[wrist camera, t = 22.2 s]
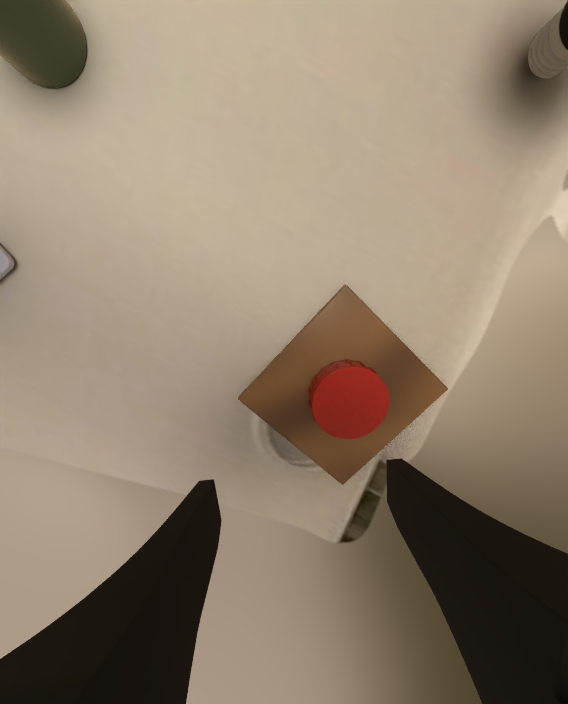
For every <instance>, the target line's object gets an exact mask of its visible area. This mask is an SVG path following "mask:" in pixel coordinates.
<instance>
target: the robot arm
mask: <svg viewBox="0 0 568 704" xmlns="http://www.w3.org/2000/svg"><path fill="white" fill-rule="evenodd" d="M13 267H14V260H13V259H12V257H11V256H10V255H9V254H8V253H7V252H6V251H5V250H4V249H3V248H2V247H1V246H0V280H1V279H2V278H3V277H4V276H5V275H6V274H7V273H8V272H9V271H10V270H12V269H13ZM387 503H388V505H389V507H390V510H391V512H392V515H393V518H394V520H395V522H396V525H397V527H398V529H399V531H400V533H401V535H402V536H403V538H404V540H405V542H406V544H407V545H408V547H409V549H410V551H411V553H412V555H413V557H414V558H415V560H416V562H417V564H418V566H419V567H420V569H421V571H422V573H423V574H424V577H425V578H426V580H427V582H428V584H429V586H430V587H431V589H432V591H433V593H434V595H435V597H436V599H437V601H438V603H439V605H440V607H441V610H442V612H443V614H444V616H445V618H446V621H447V623H448V625H449V627H450V630H451V632H452V634H453V636H454V638H455V640H456V643H457V645H458V648H459V650H460V652H461V654H462V657H463V659H464V661H465V664H466V666H467V668H468V671H469V673H470V675H471V678H472V680H473V682H474V685H475V687H476V689H477V692H478V694H479V697H480V699H481V701H482V704H568V554H567V553H565V552H562V551H560V550H558V549H555V548H553V547H551V546H548V545H546V544H544V543H542V542H540V541H538V540H536V539H533V538H531V537H529V536H527V535H525V534H523V533H521V532H519V531H517V530H514V529H513V528H511V527H509V526H507V525H505V524H503V523H501V522H499V521H498V520H496V519H494V518H492V517H490V516H488V515H486V514H485V513H483V512H481V511H479V510H478V509H476V508H474V507H473V506H471V505H469V504H468V503H466V502H465V501H463V500H461V499H459V498H458V497H457V496H455V495H453V494H452V493H450V492H449V491H447V490H446V489H444V488H443V487H441V486H440V485H438V484H437V483H435V482H434V481H433V480H431V479H430V478H428V477H427V476H425V475H424V474H423V473H421V472H420V471H418V470H417V469H416V468H414V467H413V466H411V465H410V464H408V463H407V462H406V461H404V460H403V459H393V460H387ZM220 527H221V515H220V510H219V504H218V499H217V494H216V488H215V483H214V479H213V480H204V481H199V482H198V483H197V484H196V485H195V487H194V488H193V489H192V490H191V491H190V493H189V494H188V495H187V496H186V497H185V499H184V500H183V501H182V502H181V504H180V505H179V506H178V507H177V508H176V510H175V511H174V512H173V513H172V514H171V515H170V517H169V518H168V519H167V520H166V521H165V522H164V523H163V525H162V526H161V527H160V528H159V529H158V530H157V531H156V532H155V533H154V534H153V535H152V537H151V538H150V539H149V540H148V541H147V542H146V543H145V544H144V545H143V546H142V547H141V548H140V549H139V550H138V551H137V552H136V553H135V554H134V555H133V556H132V557H131V558H130V559H129V560H128V561H127V562H126V563H125V564H123V565H122V566H121V567H120V568H119V569H118V570H117V571H116V572H115V573H114V574H112V575H111V576H110V577H109V578H108V579H107V580H105V581H104V582H103V583H102V584H101V585H99V586H98V587H97V588H96V589H95V590H94V591H92V592H91V593H90V594H89V595H88V596H86V597H85V598H84V599H83V600H82V601H80V602H79V603H78V604H76V605H75V606H74V607H73V608H71V609H70V610H69V611H67V612H66V613H65V614H63V615H62V616H61V617H59V618H58V619H57V620H55V621H54V622H53V623H51V624H50V625H49V626H47V627H46V628H45V629H43V630H42V631H40V632H39V633H38V634H36V635H35V636H33V637H32V638H31V639H29V640H28V641H26V642H25V643H23V644H22V645H20V646H19V647H17V648H16V649H14V650H13V651H12V652H10V653H8V654H7V655H6V656H4V657H3V658H1V659H0V704H186V699H187V693H188V686H189V680H190V673H191V667H192V661H193V655H194V650H195V643H196V637H197V631H198V627H199V623H200V618H201V613H202V610H203V606H204V602H205V598H206V594H207V590H208V586H209V582H210V578H211V573H212V570H213V565H214V561H215V557H216V553H217V549H218V543H219V535H220Z"/></svg>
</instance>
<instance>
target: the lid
mask: <svg viewBox="0 0 568 704" xmlns="http://www.w3.org/2000/svg"><path fill="white" fill-rule="evenodd" d="M308 402H309V406H310V409H312V413H313V417H314V420H315V421H316V422H317V424H318V425H319V426H320V428H321V429H322V430H324V431H325V432H326V433H328V434H329V435H331V436H333V437H336V438H340V439H356V438H360V437H363V436H365V435H367V434H369V433H371V432H372V431H374V430H375V429H376V428H377V427H378V426H379V425H380V424H381V423H382V422H383V420H384V418H385V417H386V415H387V412H388V408H389V393H388V389H387V387H386V385H385V383H384V382H383V380H382V379H381V378H380V377H379V376H378V375H377V373H376V372H375V371H374V370H373V369H372V368H370V367H367V366H366V365H364V364H363V363H361V362H360V361H359V362H357V361H352V360H348V359H346V360H342V361H337V362H335V361H333V363H331V364H329V365H327V366H326V367H324V368H323V367H322V370H321V371H319V372H318V374H317V375H316V376H315V377H313V381H312V383H311V386H310V389H309V401H308Z"/></svg>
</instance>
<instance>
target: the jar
mask: <svg viewBox="0 0 568 704" xmlns="http://www.w3.org/2000/svg"><path fill="white" fill-rule="evenodd" d="M0 56H1V57H2V58H3V59H5V60H6V61H7V62H8V63H9V64H10V65H12V66H13V67H14V68H15V69H16V70H18V71H19V72H20V73H21V74H22V75H24V76H25V77H26V78H27V79H29V80H30V81H32V82H33V83H35V84H37V85H40V86H43V87H48V88H60V87H64V86H66V85H68V84H70V83H72V82H73V81H74V80H75V79H76V78H77V77H78V76H79V74H80V73H81V71H82V69H83V67H84V64H85V60H86V39H85V34H84V31H83V28H82V25H81V23H80V20H79V19H78V17H77V15H76V13H75V12H74V11H73V9H72V8H71V6H70V5H69V4H68V2H67V1H66V0H0Z"/></svg>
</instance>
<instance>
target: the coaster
mask: <svg viewBox="0 0 568 704" xmlns="http://www.w3.org/2000/svg"><path fill="white" fill-rule="evenodd" d="M346 359H348V360H352V361H357V362H359V361H360V362H361V363H363V364H364V365H366V366H367V367H370V368H372V369H373V370H374V371H375V372H376V373H377V375H378V376H379V377H380V378H381V379H382V380H383V382H384V383H385V385H386V387H387V389H388V393H389V408H388V412H387V415H386V417H385V418H384V420H383V422H382V423H381V424H380V425H379V426H378V427H377V428H376V429H375V430H374V431H372V432H371V433H369V434H367V435H365V436H363V437H360V438H356V439H340V438H336V437H333V436H331V435H329V434H328V433H326V432H325V431H324V430H322V429H321V428H320V426H319V425H318V424H317V422H316V421H315V420H314V417H313V413H312V409H310V406H309V402H308V401H309V389H310V386H311V383H312V381H313V377H315V376H316V375H317V374H318V372H319V371H321V370H322V367H323V368H324V367H326V366H327V365H329V364H331V363H333V361H335V362H337V361H342V360H346ZM446 390H448V388H447V387H446V386H445V385H444V384H443V383H442V382H441V381H440V380H439V379H438V378H437V377H436V376H435V375H434V374H433V373H432V372H431V371H430V370H429V369H428V368H427V367H426V366H425V365H424V364H423V363H422V362H421V360H420V359H419V358H418V357H417V356H416V355H415V354H414V353H413V352H412V351H411V350H410V349H409V348H408V347H407V346H406V345H405V344H404V343H403V342H402V341H401V340H400V339H399V338H398V337H397V336H396V335H395V334H394V333H393V332H392V331H391V330H390V329H389V328H388V327H387V326H386V325H385V324H384V323H383V322H382V321H381V320H380V319H379V318H378V317H377V316H376V315H375V314H374V313H373V312H372V311H371V310H370V308H369V307H368V306H367V305H366V304H365V303H364V302H363V301H362V300H361V299H360V298H359V297H358V296H357V295H356V294H355V293H354V292H353V291H352V290H351V289H350V288H349V287H348V286H347V285H344V286H343V287H342V288H341V289H340V290H339V291H338V292H337V293H336V295H335V296H334V297H333V298H332V299H331V300H330V301H329V302H328V303H327V304H326V305H325V306H324V307H323V308H322V309H321V310H320V311H319V312H318V314H317V315H316V316H315V317H314V318H313V319H312V320H311V321H310V322H309V323H308V324H307V325H306V326H305V327H304V328H303V329H302V330H301V331H300V333H299V334H298V335H297V336H296V337H295V338H294V339H293V340H292V341H291V342H290V343H289V344H288V345H287V346H286V347H285V348H284V349H283V350H282V352H281V353H280V354H279V355H278V356H277V357H276V358H275V359H274V360H273V361H272V362H271V363H270V364H269V365H268V366H267V367H266V368H265V369H264V371H263V372H262V373H261V374H260V375H259V376H258V377H257V378H256V379H255V380H254V381H253V382H252V383H251V384H250V385H249V386H248V387H247V388H246V390H245V391H244V392H243V393H242V394H241V395H240V396H239V397H238V399H239V400H240V401H241V402H242V403H243V404H245V405H246V406H247V407H248V408H250V409H251V410H252V411H253V412H254V413H256V414H257V415H258V416H259V417H261V418H262V419H263V420H264V421H265V422H267V423H268V424H269V425H270V426H272V427H273V428H274V429H275V430H276V431H278V432H279V433H280V434H281V435H282V436H284V437H285V438H286V439H287V440H289V441H290V442H291V443H292V444H293V445H295V446H296V447H297V448H298V449H300V450H301V451H302V452H303V453H304V454H306V455H307V456H308V457H309V458H311V459H312V460H313V461H314V462H315V463H317V464H318V465H319V466H320V467H322V468H323V469H324V470H325V471H326V472H328V473H329V474H330V475H331V476H333V477H334V478H335V479H336V480H337V481H339V482H340V483H341V484H342V485H343V484H344V483H345V482H346V481H347V480H349V479H350V478H351V477H352V476H353V475H354V474H355V473H356V472H357V471H358V470H360V469H361V468H362V467H363V466H364V465H365V464H366V463H367V462H368V461H369V460H371V459H372V458H373V457H374V456H375V455H376V454H377V453H378V452H379V451H380V450H382V449H383V448H384V447H385V446H386V445H387V444H388V443H389V442H390V441H391V440H393V439H394V438H395V437H396V436H397V435H398V434H399V433H400V432H401V431H402V430H404V429H405V428H406V427H407V426H408V425H409V424H410V423H411V422H412V421H413V420H415V419H416V418H417V417H418V416H419V415H420V414H421V413H422V412H423V411H424V410H426V409H427V408H428V407H429V406H430V405H431V404H432V403H433V402H434V401H435V400H437V399H438V398H439V397H440V396H441V395H442V394H443V393H444V392H445V391H446Z"/></svg>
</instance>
